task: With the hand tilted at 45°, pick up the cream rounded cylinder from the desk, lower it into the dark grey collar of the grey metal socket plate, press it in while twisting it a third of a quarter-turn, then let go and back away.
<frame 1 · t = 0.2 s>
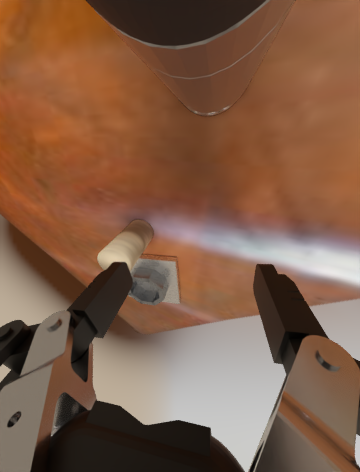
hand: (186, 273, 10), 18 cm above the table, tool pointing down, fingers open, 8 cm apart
socket plate: (151, 276, 38), on the table
cream rounded cylinder: (141, 231, 31), on the table
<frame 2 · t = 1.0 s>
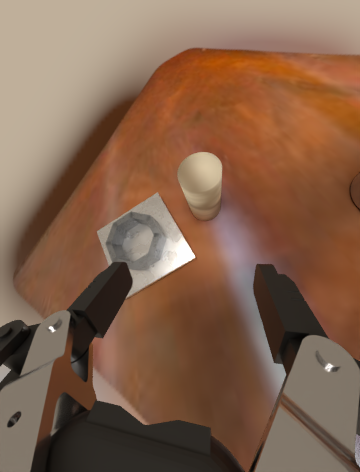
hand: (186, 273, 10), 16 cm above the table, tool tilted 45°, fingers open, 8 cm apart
socket plate: (144, 244, 28), on the table
cream rounded cylinder: (205, 207, 27), on the table
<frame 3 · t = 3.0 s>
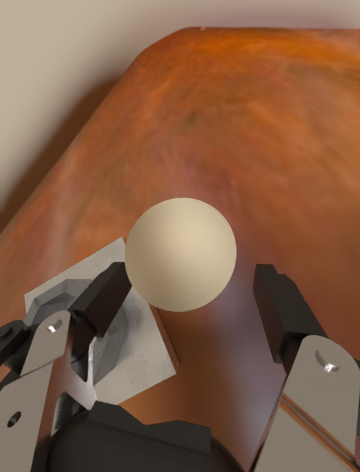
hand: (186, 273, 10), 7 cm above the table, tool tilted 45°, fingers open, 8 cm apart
socket plate: (97, 323, 17), on the table
cream rounded cylinder: (198, 266, 16), on the table
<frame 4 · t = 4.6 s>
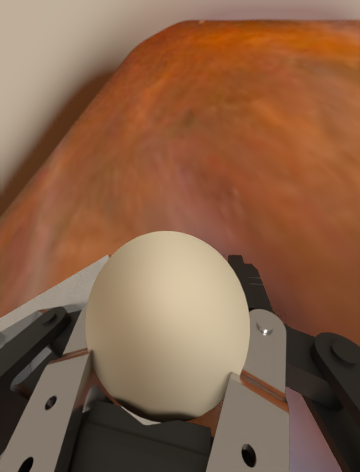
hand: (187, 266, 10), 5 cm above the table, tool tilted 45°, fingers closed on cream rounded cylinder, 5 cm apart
socket plate: (78, 355, 15), on the table
cream rounded cylinder: (196, 290, 14), on the table, touching gripper
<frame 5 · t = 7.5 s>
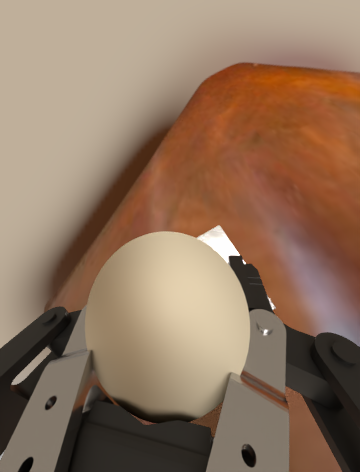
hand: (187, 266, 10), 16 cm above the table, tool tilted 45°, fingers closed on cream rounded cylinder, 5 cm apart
socket plate: (204, 284, 25), on the table
cream rounded cylinder: (196, 290, 14), point 11 cm above the table, touching gripper
when the fingers open (7 cm above the table, at t = 10.4 s): cream rounded cylinder stays where it is, resting on socket plate.
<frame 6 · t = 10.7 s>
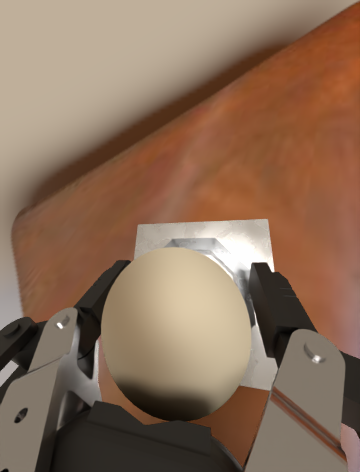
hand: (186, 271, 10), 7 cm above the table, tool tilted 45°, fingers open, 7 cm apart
socket plate: (198, 289, 16), on the table
cream rounded cylinder: (197, 294, 15), point 2 cm above the table, touching socket plate
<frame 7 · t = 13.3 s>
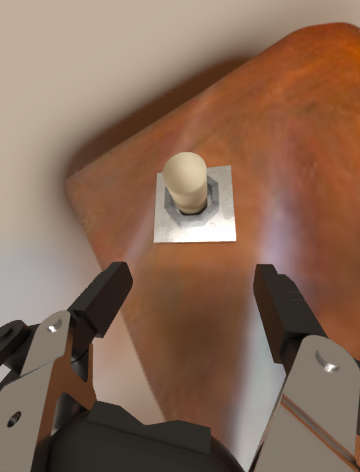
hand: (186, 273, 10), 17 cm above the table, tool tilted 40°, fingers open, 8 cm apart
socket plate: (193, 206, 29), on the table
cream rounded cylinder: (192, 205, 27), point 2 cm above the table, touching socket plate
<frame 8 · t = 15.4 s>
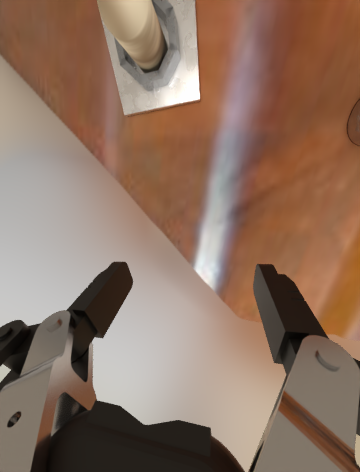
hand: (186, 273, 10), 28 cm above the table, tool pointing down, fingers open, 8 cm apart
socket plate: (154, 55, 25), on the table
cream rounded cylinder: (152, 53, 24), point 2 cm above the table, touching socket plate
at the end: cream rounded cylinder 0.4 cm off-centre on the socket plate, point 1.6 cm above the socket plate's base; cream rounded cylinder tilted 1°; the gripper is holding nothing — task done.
